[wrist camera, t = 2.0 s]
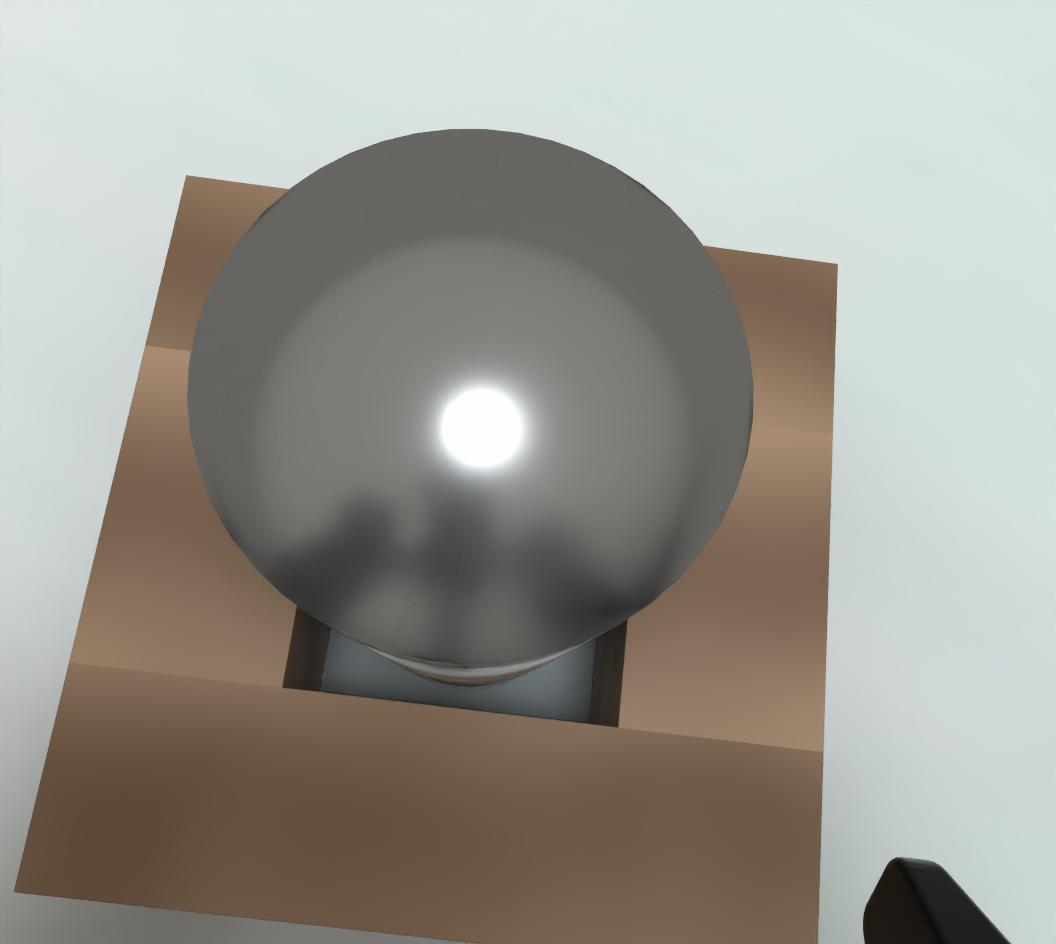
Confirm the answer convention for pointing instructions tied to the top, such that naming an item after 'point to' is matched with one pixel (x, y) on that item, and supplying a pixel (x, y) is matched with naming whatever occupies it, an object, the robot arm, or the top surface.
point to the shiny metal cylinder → (470, 399)
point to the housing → (442, 731)
